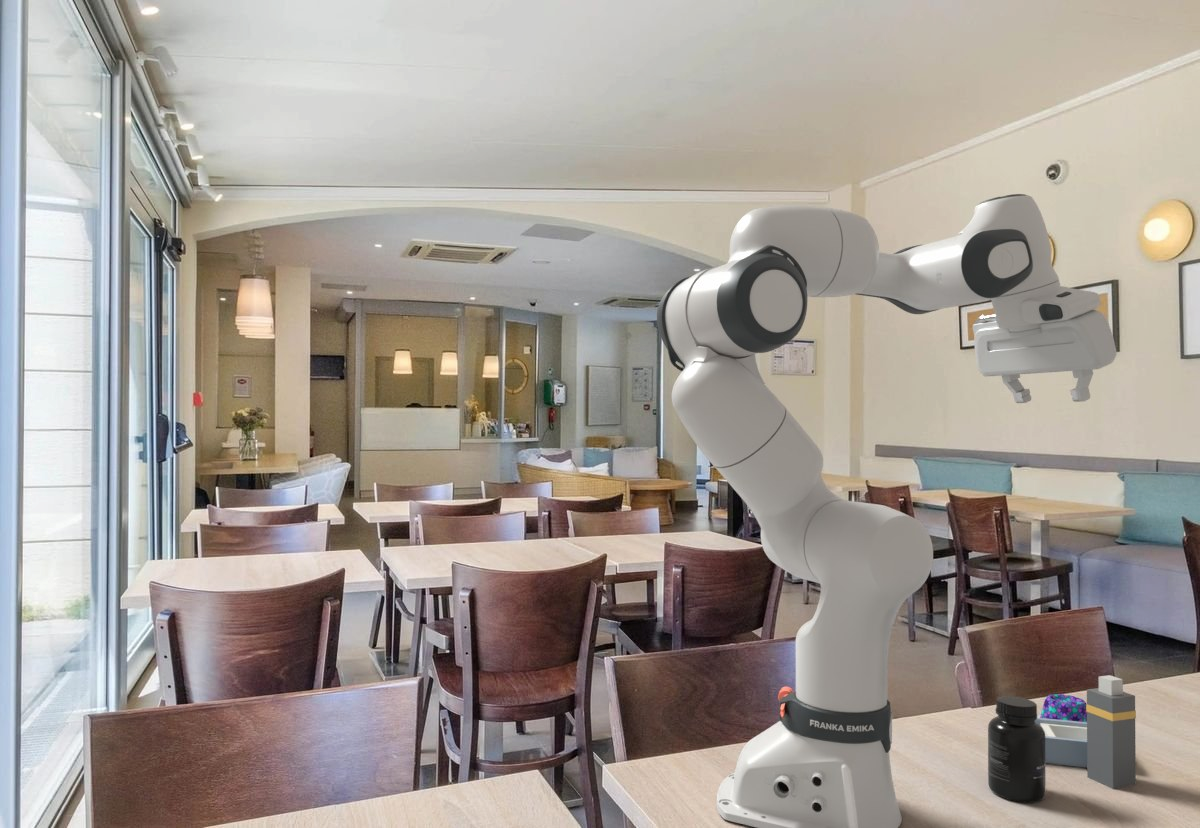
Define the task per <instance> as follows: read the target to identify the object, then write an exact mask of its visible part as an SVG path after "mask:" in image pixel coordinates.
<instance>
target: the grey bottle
mask: <svg viewBox="0 0 1200 828" xmlns="http://www.w3.org/2000/svg"><path fill="white" fill-rule="evenodd" d="M1123 682H1124V679H1123V678H1119V677H1116V676H1114V675H1110V674H1107V675H1101V676H1098V687H1097V688H1088V689H1086V711H1087V769H1086V770H1087V771H1086V772H1087V773H1086V774H1087V775H1086V776H1087V778H1089V779H1091V780H1093V781H1095V782H1097V783H1099V784H1102V785H1103V786H1106V787H1108V788H1111V790H1114V789H1122V788H1126V787H1133V786H1136V785H1137V783H1136V782H1137V778H1136V777H1137V775H1136V774H1137V773H1136V772H1137V771H1136V769H1137V768H1136V767H1137V764H1136V763H1137V761H1136V759H1137V758H1136V755H1137V754H1136V719H1137V711H1136V695H1134V694H1131V693H1129V692H1125V691H1123V690H1124V686H1123V684H1124V683H1123Z"/></svg>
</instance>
